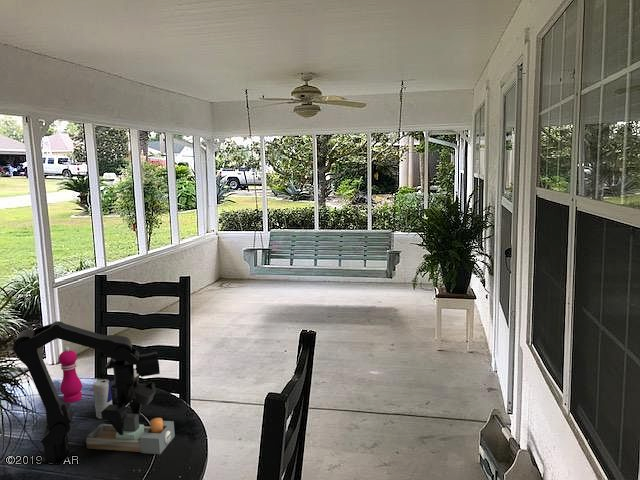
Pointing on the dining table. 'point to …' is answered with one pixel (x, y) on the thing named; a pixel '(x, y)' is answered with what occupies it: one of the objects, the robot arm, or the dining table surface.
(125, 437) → the carriage
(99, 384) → the energy drink
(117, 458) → the dining table surface
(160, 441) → the cabinet
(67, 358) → the pepper mill
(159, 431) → the button
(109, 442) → the rail board
